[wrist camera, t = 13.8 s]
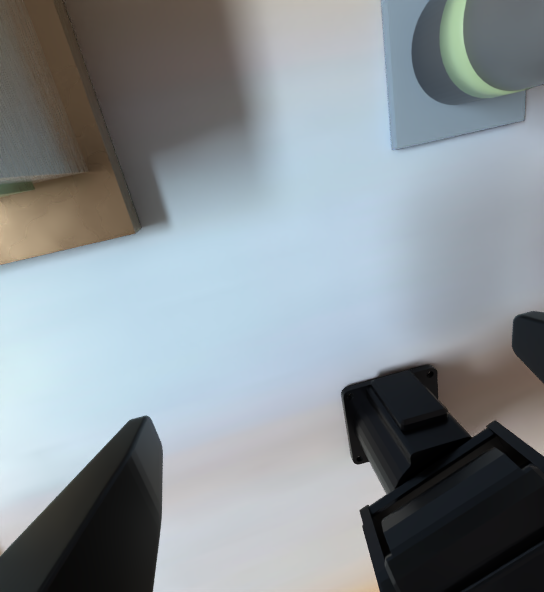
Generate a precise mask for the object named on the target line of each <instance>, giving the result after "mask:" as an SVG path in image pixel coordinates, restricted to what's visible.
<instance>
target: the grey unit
mask: <svg viewBox="0 0 544 592" xmlns="http://www.w3.org/2000/svg"><path fill="white" fill-rule="evenodd" d="M140 229H141V225H140V222H139V220H138V217H137V214H136V211H135V208H134V205H133V202H132V199H131V196H130V194H129V191H128V188H127V185H126V182H125V179H124V176H123V173H122V170H121V168H120V165H119V162H118V159H117V156H116V153H115V150H114V147H113V144H112V142H111V139H110V136H109V133H108V130H107V127H106V124H105V121H104V118H103V115H102V113H101V110H100V107H99V104H98V101H97V98H96V95H95V92H94V89H93V87H92V84H91V81H90V78H89V75H88V72H87V69H86V66H85V63H84V61H83V58H82V55H81V52H80V49H79V46H78V43H77V40H76V37H75V35H74V32H73V29H72V26H71V23H70V20H69V17H68V14H67V11H66V9H65V6H64V3H63V0H0V265H1V264H6V263H10V262H14V261H19V260H23V259H27V258H32V257H36V256H40V255H44V254H49V253H53V252H57V251H62V250H66V249H70V248H75V247H79V246H83V245H87V244H92V243H96V242H100V241H105V240H109V239H113V238H118V237H122V236H126V235H131V234H135V233H136V232H137V231H139V230H140Z"/></svg>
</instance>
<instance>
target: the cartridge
mask: <svg viewBox="0 0 544 592" xmlns="http://www.w3.org/2000/svg"><path fill="white" fill-rule="evenodd" d="M411 54H412V64H413V69H414V73H415V76H416V78H417V81H418V83H419V84H420V86H421V88H422V89H423V90H424V92H425V93H426V94H427V95H428V96H430V97H431V98H432V99H434V100H435V101H438V102H440V103H443V104H447V105H459V104H463V103H467V102H472V101H476V100H480V99H484V98H494V97H498V96H502V95H507V94H511V93H515V92H520V91H524V90H527V89H530V88H532V87H535V86H539V85H544V0H430V1H429V2H428V3H427V4H426V6H425V8H424V9H423V11H422V13H421V15H420V17H419V19H418V21H417V24H416V27H415V30H414V34H413V39H412V50H411Z"/></svg>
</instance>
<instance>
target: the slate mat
mask: <svg viewBox="0 0 544 592" xmlns="http://www.w3.org/2000/svg"><path fill="white" fill-rule="evenodd" d="M429 1H430V0H381V6H382V20H383V35H384V49H385V63H386V77H387V91H388V105H389V119H390V133H391V147H392V150H395V149H401V148H405V147H410V146H414V145H418V144H423V143H427V142H432V141H436V140H440V139H445V138H449V137H454V136H458V135H462V134H467V133H471V132H476V131H480V130H484V129H489V128H493V127H498V126H502V125H506V124H511V123H515V122H520V121H524V114H525V97H526V90H524V91H520V92H515V93H511V94H507V95H502V96H498V97H494V98H484V99H480V100H476V101H472V102H467V103H463V104H459V105H447V104H443V103H440V102H438V101H435V100H434V99H432V98H431V97H430V96H428V95H427V94H426V93H425V92H424V90H423V89H422V88H421V86H420V84H419V83H418V81H417V78H416V76H415V73H414V69H413V64H412V54H411V50H412V39H413V34H414V30H415V27H416V24H417V21H418V19H419V17H420V15H421V13H422V11H423V9H424V8H425V6H426V4H427V3H428V2H429Z"/></svg>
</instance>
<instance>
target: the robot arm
mask: <svg viewBox="0 0 544 592" xmlns="http://www.w3.org/2000/svg"><path fill="white" fill-rule="evenodd" d="M512 348H513V350H514V352H515V354H516V355H517V356H518V357H519V358H520V359H521V360H522V361H523V362H524V364H525V365H526V366H527V367H528V368H529V369H530V370H531V371H532V372H533V373H534V374H535V375H536V376H537V377H538V378H539V379H540V380H541V381H542V382H543V383H544V312H536V311H531V312H527V313H523V314H520V315H517V316H516V317H515V318H514V320H513V332H512ZM428 372H430V373H429V374H427V373H428ZM350 393H352V394H351V395H350V396H347V395H348V394H350ZM341 397H342V403H343V409H344V416H345V422H346V428H347V434H348V441H349V447H350V453H351V458H352V460H353V462H354V463H355V464H362V463H366V462H370V464H371V466H372V467H373V469H374V471H375V473H376V475H377V477H378V479H379V481H380V483H381V485H382V487H383V488H384V490H385V492H386V494H387V495H385V496H384V497H382V498H381V499H379V500H378V501H376V502H375V503H373V504H372V505H370V506H369V505H367V506H365V507H364V508H362V509H361V510H360V514H361V518H362V521H363V525H362V527H363V531H364V535H365V538H366V542H367V546H368V549H369V553H370V557H371V560H372V564H373V568H374V571H375V575H376V579H377V582H378V586H379V590H380V592H544V456H542V455H541V454H540V453H538V452H537V451H536V450H534V449H533V448H532V447H530V446H529V445H528V444H526V443H525V442H524V441H522V440H521V439H520V438H518V437H517V436H516V435H514V434H513V433H512V432H510V431H509V430H508V429H506V428H505V427H504V426H502V425H501V424H500V423H498V422H497V421H496V420H495V421H493V422H492V423H490V424H489V425H487V426H486V427H487V428H486V429H485V430H483V431H482V432H480V433H479V434H477V435H476V436H474V437H473V438H472V437H471V436H470V435H469V433H468V432H467V431H466V430H465V429H464V428H463V427H462V426H461V425H460V424H459V423H458V422H457V421H456V420H455V419H454V418H453V417H452V415H451V414H450V413H449V412H448V410H447V408H446V407H445V406H444V405H443V404H442V403H441V402H440V401H439V400H438V382H437V370H436V369H435V368H434V367H433V366H431V365H425V366H421V367H417V368H414V369H410V370H406V371H403V372H399V373H396V374H392V375H388V376H385V377H381V378H377V379H374V380H370V381H366V382H363V383H359V384H355V385H352V386H348V387H346V388H344V389H343V390H342V392H341ZM359 456H360V457H359ZM162 470H163V450H162V444H161V441H160V439H159V436H158V434H157V432H156V429H155V427H154V425H153V422H152V420H151V419H150V417H149V416H142V417H138V418H135V419H131V420H129V421H128V422H127V423H126V424H125V425H124V426H123V428H122V429H121V430H120V431H119V432H118V433H117V434H116V435H115V436H114V437H113V438H112V439H111V440H110V441H109V442H108V443H107V444H106V445H105V446H104V448H103V449H102V450H101V451H100V452H99V453H98V454H97V455H96V456H95V457H94V458H93V459H92V460H91V461H90V462H89V463H88V464H87V465H86V466H85V468H84V469H83V470H82V471H81V472H80V473H79V474H78V475H77V476H76V477H75V478H74V479H73V480H72V481H71V482H70V483H69V484H68V485H67V487H66V488H65V489H64V490H63V491H62V492H61V493H60V494H59V495H58V496H57V497H56V498H55V499H54V500H53V501H52V502H51V503H50V504H49V505H48V507H47V508H46V509H45V510H44V511H43V512H42V513H41V514H40V515H39V516H38V517H37V518H36V519H35V520H34V521H33V522H32V523H31V524H30V525H29V526H28V528H27V529H26V530H25V531H24V532H23V533H22V534H21V535H20V536H19V537H18V538H17V539H16V540H15V541H14V542H13V543H12V544H11V545H10V546H9V548H8V549H7V550H6V551H5V552H4V553H3V554H2V555H1V556H0V592H153V586H154V578H155V570H156V562H157V554H158V546H159V538H160V529H161V519H162Z"/></svg>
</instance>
